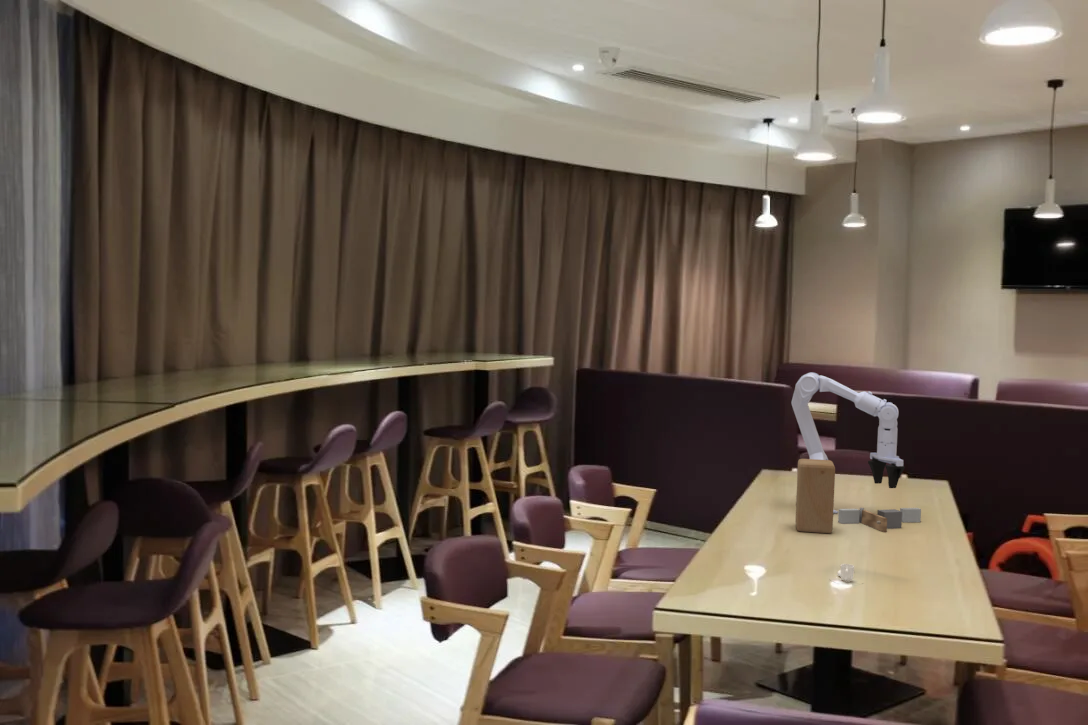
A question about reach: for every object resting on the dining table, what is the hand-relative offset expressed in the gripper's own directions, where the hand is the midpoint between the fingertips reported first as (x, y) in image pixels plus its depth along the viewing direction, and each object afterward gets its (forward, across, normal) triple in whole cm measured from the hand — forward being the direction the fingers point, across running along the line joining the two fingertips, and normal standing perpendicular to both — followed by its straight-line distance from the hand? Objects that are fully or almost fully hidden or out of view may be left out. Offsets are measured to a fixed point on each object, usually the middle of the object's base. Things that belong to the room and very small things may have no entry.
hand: (885, 485), depth 312 cm
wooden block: (+10, -11, +31) cm, 35 cm away
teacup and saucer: (+11, -61, +48) cm, 79 cm away
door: (+10, -12, +12) cm, 20 cm away
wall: (+10, -6, +6) cm, 13 cm away
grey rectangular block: (+10, -12, +7) cm, 17 cm away
